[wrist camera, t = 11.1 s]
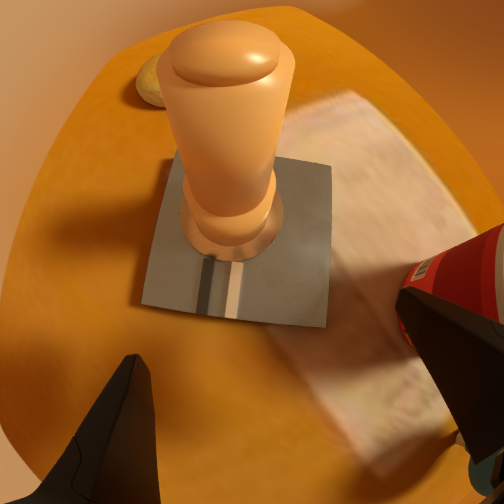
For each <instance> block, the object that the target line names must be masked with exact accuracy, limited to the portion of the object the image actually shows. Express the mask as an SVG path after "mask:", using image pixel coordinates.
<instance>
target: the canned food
mask: <svg viewBox="0 0 504 504" xmlns="http://www.w3.org/2000/svg"><path fill="white" fill-rule="evenodd" d="M409 285H410V286H413V287H416V288H418V289H420V290H423V291H425V292H428V293H430V294H433V295H435V296H438V297H440V298H442V299H445V300H447V301H450V302H452V303H454V304H457V305H459V306H462V307H464V308H466V309H469V310H471V311H473V312H476V313H478V314H480V315H483V316H485V317H487V318H488V319H492V320H494V321H496V322H499V323H501V324H503V325H504V223H503V224H501V225H499V226H497V227H494V228H492V229H490V230H488V231H486V232H484V233H482V234H480V235H478V236H476V237H474V238H472V239H470V240H468V241H466V242H464V243H462V244H460V245H458V246H455V247H453V248H451V249H449V250H447V251H444V252H442V253H440V254H438V255H435V256H433V257H431V258H429V259H426V260H424V261H422V262H420V263H419V264H418V265H416V266H415V267H414V268H413V270H412V271H411V272H410V273H409V274H408V275H407V277H406V278H405V280H404V282H403V284H402V287H401V288H403V287H405V286H409ZM398 321H399V326H400V329H401V331H402V334H403V336H404V338H405V339H406V341H407V342H408V343H409V344H410V345H411V346H412V347H414V346H413V344H412V342H411V340H410V338H409V336H408V334H407V332H406V330H405V328H404V326H403V324H402V322H401V320H400V318H399V316H398ZM414 348H415V347H414Z"/></svg>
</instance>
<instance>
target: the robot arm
mask: <svg viewBox="0 0 504 504" xmlns="http://www.w3.org/2000/svg"><path fill="white" fill-rule="evenodd" d="M395 308H396V312H397V314H398V316H399V318H400V320H401V322H402V324H403V326H404V328H405V330H406V332H407V334H408V336H409V338H410V340H411V342H412V344H413V346H414V347H415V349H416V351H417V353H418V354H419V356H420V358H421V359H422V361H423V363H424V364H425V366H426V368H427V370H428V371H429V373H430V375H431V377H432V378H433V380H434V382H435V384H436V386H437V387H438V389H439V391H440V393H441V395H442V397H443V399H444V401H445V402H446V404H447V406H448V408H449V410H450V412H451V414H452V416H453V418H454V420H455V422H456V424H457V426H458V429H459V431H460V433H461V435H462V437H463V440H464V442H465V444H466V446H467V449H468V451H469V453H470V456H471V458H472V460H473V463H474V464H475V465H477V464H479V463H480V462H482V461H483V460H485V459H486V458H488V457H489V456H491V455H492V454H494V453H495V452H497V451H498V450H500V449H501V448H502V447H504V325H503V324H501V323H499V322H496V321H494V320H492V319H488V318H487V317H485V316H483V315H480V314H478V313H476V312H473V311H471V310H469V309H466V308H464V307H462V306H459V305H457V304H454V303H452V302H450V301H447V300H445V299H442V298H440V297H438V296H435V295H433V294H430V293H428V292H425V291H423V290H420V289H418V288H416V287H413V286H410V285H409V286H405V287H403V288H401V289H400V290H399V293H398V297H397V301H396V306H395ZM490 483H491V485H492V487H493V489H494V491H493V492H492V493H491V494H490V495H489V496H487V497H486V498H485V499H484V500H483V501H482V502H481V503H480V504H504V449H503V450H502V451H501V452H500V453H499V454H498V455H497V456H496V458H495V463H494V467H493V472H492V476H491V480H490ZM5 504H161V500H160V492H159V482H158V470H157V456H156V436H155V413H154V404H153V396H152V388H151V378H150V372H149V369H148V367H147V366H146V364H145V363H144V361H143V360H142V358H141V356H140V355H139V354H130V355H127V356H125V358H124V359H123V361H122V362H121V364H120V365H119V367H118V368H117V369H116V371H115V372H114V374H113V375H112V377H111V378H110V380H109V381H108V383H107V384H106V386H105V387H104V389H103V390H102V392H101V394H100V395H99V397H98V398H97V400H96V401H95V403H94V404H93V406H92V407H91V409H90V411H89V412H88V414H87V415H86V417H85V418H84V420H83V422H82V423H81V425H80V426H79V428H78V430H77V431H76V433H75V436H73V438H72V439H71V441H70V443H69V444H68V446H67V447H66V449H65V451H64V452H63V454H62V455H61V457H60V458H59V459H58V461H57V462H56V464H55V465H54V466H53V468H52V469H51V471H50V472H49V473H48V475H47V476H46V477H45V479H44V480H43V481H42V483H41V484H40V485H39V487H38V488H37V489H36V490H35V491H34V492H33V493H32V494H30V495H29V496H27V497H24V498H21V499H18V500H15V501H12V502H9V503H5Z"/></svg>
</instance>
